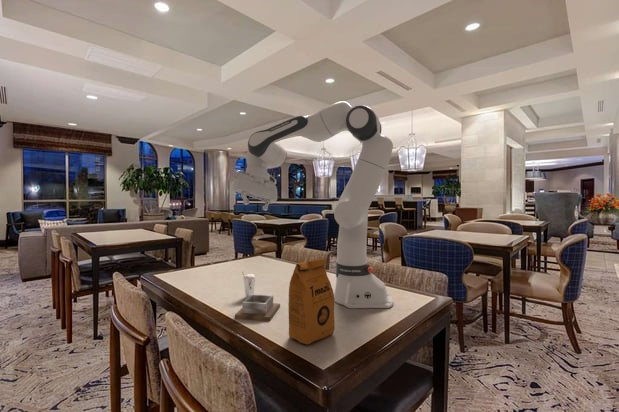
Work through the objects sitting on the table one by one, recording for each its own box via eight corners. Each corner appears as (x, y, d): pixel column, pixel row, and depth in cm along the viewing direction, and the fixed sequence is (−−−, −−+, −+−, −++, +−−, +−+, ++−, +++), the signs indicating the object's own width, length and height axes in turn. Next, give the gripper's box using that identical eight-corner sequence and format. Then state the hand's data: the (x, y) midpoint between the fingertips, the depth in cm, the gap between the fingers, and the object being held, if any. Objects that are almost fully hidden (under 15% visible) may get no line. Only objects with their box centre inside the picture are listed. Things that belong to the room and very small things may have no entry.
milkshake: (245, 294, 122) (245, 270, 122) (257, 295, 121) (257, 271, 120) (239, 298, 118) (239, 272, 117) (252, 299, 116) (251, 274, 116)
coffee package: (340, 336, 87) (340, 260, 86) (305, 350, 79) (305, 266, 78) (317, 324, 94) (317, 254, 93) (284, 336, 87) (283, 260, 86)
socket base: (280, 307, 109) (280, 294, 109) (270, 320, 97) (269, 306, 97) (248, 304, 111) (248, 292, 111) (234, 318, 99) (234, 304, 99)
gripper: (239, 165, 119) (238, 197, 113) (279, 181, 133) (279, 210, 127) (230, 171, 123) (229, 202, 117) (270, 186, 137) (270, 215, 131)
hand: (255, 207), depth 122 cm, fingers open, 8 cm apart
